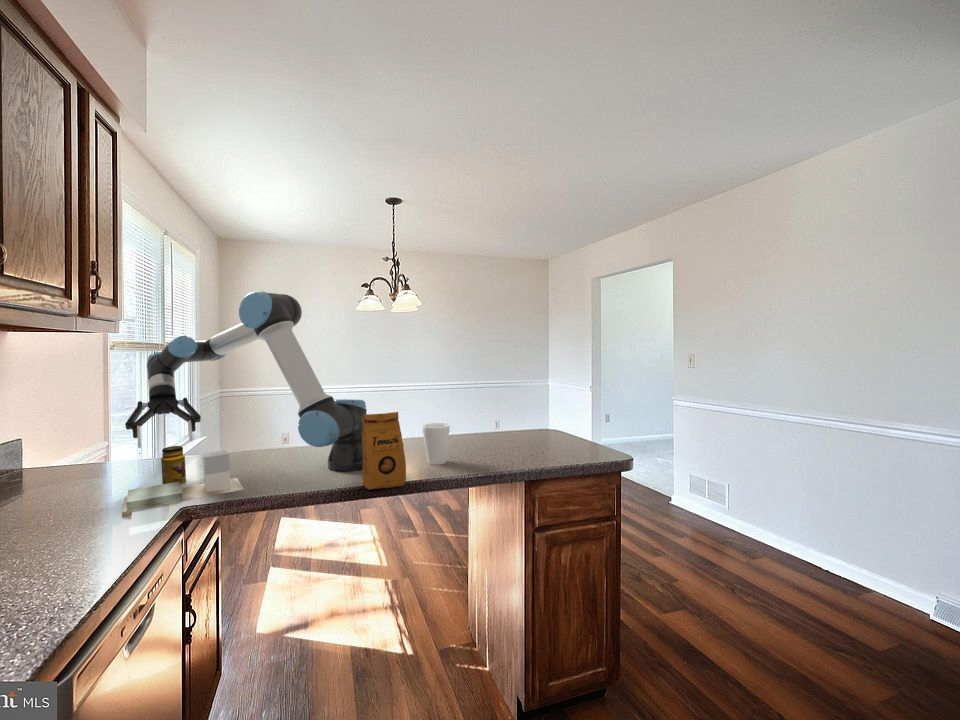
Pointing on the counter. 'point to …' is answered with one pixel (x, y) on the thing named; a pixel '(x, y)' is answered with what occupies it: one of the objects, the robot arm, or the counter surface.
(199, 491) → the build board
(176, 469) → the condiment
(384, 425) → the coffee package
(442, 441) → the foam cup
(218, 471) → the block pillar
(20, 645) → the counter surface
